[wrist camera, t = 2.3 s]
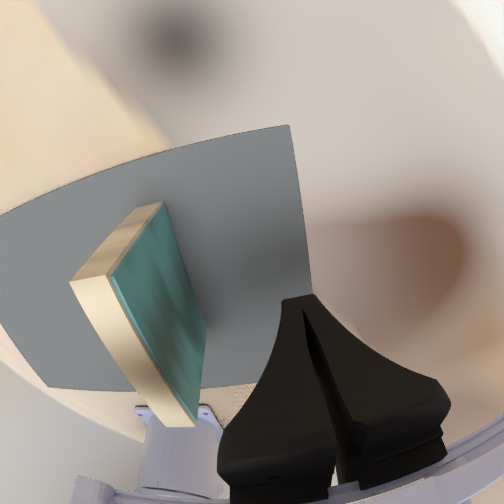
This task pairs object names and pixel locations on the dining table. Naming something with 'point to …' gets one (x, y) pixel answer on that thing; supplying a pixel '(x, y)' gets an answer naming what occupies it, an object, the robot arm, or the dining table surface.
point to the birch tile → (147, 313)
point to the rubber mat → (190, 246)
